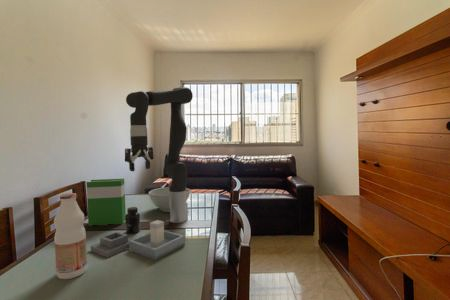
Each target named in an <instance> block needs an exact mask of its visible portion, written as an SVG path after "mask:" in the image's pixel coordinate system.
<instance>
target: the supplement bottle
mask: <svg viewBox="0 0 450 300" xmlns="http://www.w3.org/2000/svg"><path fill="white" fill-rule="evenodd" d="M138 210H139V209H138V207H137V206H130V207H128V208H127V211H126V216H125V234H127V235H129V234H130V235H132V234H137V233H139V232H140V231H141V215H140V213H139V212H138Z"/></svg>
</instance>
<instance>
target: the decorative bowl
mask: <svg viewBox="0 0 450 300" xmlns="http://www.w3.org/2000/svg"><path fill="white" fill-rule="evenodd" d="M190 195H191V189H190V188H188V187H186V202H187V201H188V199H189V197H190ZM148 197H149V199H150V201H151V202H152V204H153V205H154V206H155V207H156V208H157V209H160V211H161V212H164V213H165V212H167V213H170V199H169V186H166V187H160V188H159V187H158V188H154V189H151V190H150V191H148Z"/></svg>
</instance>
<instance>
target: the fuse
mask: <svg viewBox="0 0 450 300" xmlns="http://www.w3.org/2000/svg"><path fill="white" fill-rule="evenodd" d="M164 230H165V221H163V220H159V219H157V220H154V221H151V222H149V233H150V237H151V241H150V246H153V247H155V248H157V247H159V246H161V245H163V244H165V240H164Z"/></svg>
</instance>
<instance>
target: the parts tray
mask: <svg viewBox="0 0 450 300" xmlns="http://www.w3.org/2000/svg"><path fill="white" fill-rule="evenodd" d="M185 236H186V235H183V234H181V233H176V232H171V231H169V230H165V229H164V240H165V244H163V245H161V246H159V247H157V248H155V247H153V246H150V241H151V237H150V232H148V233H145V234H143V235H139V236H138V237H134V238H131V239H132V240H130V241H129V248H128V250H129V251H131V252H133V253H136V254H138V255H141V256H144V257H147V258H149V259H150V260H151V259H152V260H154V261H157V260H159V259H161V258H163V257H164V256H166V255H168V254H170V253H173V252H174V251H176V250H178V249H179V248H181V247H183V246H185V245H186V237H185Z"/></svg>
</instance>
